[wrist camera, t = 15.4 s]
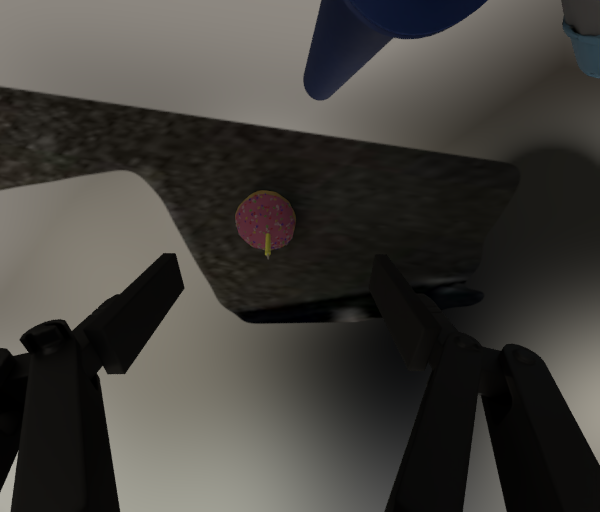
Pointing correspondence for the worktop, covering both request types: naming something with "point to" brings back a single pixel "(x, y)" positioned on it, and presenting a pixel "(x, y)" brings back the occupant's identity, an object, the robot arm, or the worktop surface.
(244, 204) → the cupcake
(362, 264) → the worktop surface
